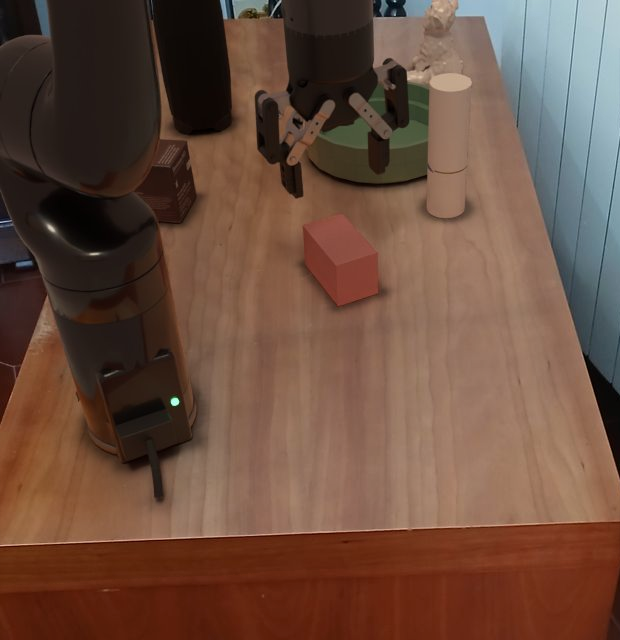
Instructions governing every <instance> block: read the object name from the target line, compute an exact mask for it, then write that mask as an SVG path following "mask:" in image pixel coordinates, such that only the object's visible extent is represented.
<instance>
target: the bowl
mask: <svg viewBox="0 0 620 640" xmlns="http://www.w3.org/2000/svg"><path fill="white" fill-rule="evenodd" d="M407 84H408V103H409V124H408V126H407V127H405V128H400V127H399V128H398V129H396V130H394V131H393V132H392V135H391V136H390V151H389V152H390V155H389V156H390V162H389V165H388V166H387V167H385V173H383V174H380V175H377V174H376V173H375V172H374V171H373V170H371V168H370V167H369V163H368V132H370V131H371V127H370V126H369V125H368V124H367V123H366V122H365V121H364V120H363V119H362V118H361V117H360V116H359V118H358V119H357V120H355V121H354V124H352V125H349V126H338V127H336V128H334V129H332V130H330V131H327V132H322V131H321V130H320V131H319V133H318V134H317V136H316V138H315V140H314V141H313V143H312V144H311V145H308V146H307V147H306V152H307V155H308V159H309V160H311V162H312V163H313V164H314V165H315V166H316V167H317V168H318V169H319V170H321V171H323V172H325V173H327V174H329V175H331V176H333V177H335V178H339V179H343V180H348V181H352V182H356V183H363V184H376V185H377V184H378V185H379V184H393V183H400V182H406V181H409V180H414V179H416V178H420V177H423V176H426V175H427V169H428V127H429V90H430V87H428V86H425V85H423V84H419V83H413V82H408V81H407ZM368 104H369V105H370V106H371V107H372V108H373V109H374V110H375V111H376V112H377V113H378V114H379V115H380V116H382V115H383V114H385V113H386V109H385V95H384V88H383V87H382V86H381V85H380V83H379V82H378V84H377V87H376V89H375V90H374V92H373V94H372V96H371V97H370V99H369V101H368ZM306 124H307V122H306V121H305V120H304V127H305V126H306Z"/></svg>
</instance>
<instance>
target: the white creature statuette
mask: <svg viewBox="0 0 620 640" xmlns="http://www.w3.org/2000/svg"><path fill="white" fill-rule="evenodd" d="M457 10H459V0H431V3H430V6H429V7H428V8H426V9H425V10H424V13H425V14H424V16H423V20H422V22H421V24H422V28H424V31H423V39H422V41H421V44H420V46H419V47H420V48H419V51H418V55H415V56H414V57H413V58H412V61H411V65H412V67H413V68H414V69H411V70H410V71H409V70H406V71H407V81H408V82H413V83H419V84H423V85H425V86H428V87H430V80H431V79H432V78H433V77H435V76H437V75H440V74H446V73H456V74H461V75H464V66H465V65H464V64H463V63H464V61H463V60H462V59H461V57H460V56H459V55H458V52H457V50H456V48H455V46H456V42H455V38H454V36H453V35H452V32H451V31H450V30H451V28H452V26H453V25H454V24H455V20H456V11H457Z"/></svg>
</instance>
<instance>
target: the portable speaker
mask: <svg viewBox="0 0 620 640" xmlns="http://www.w3.org/2000/svg"><path fill="white" fill-rule="evenodd" d="M151 11H152V26H153V29H154V30H153V31H154V34H155V40H156V41H155V42H156V48H157V54H158V58H159V63H160V70H161V75H162V81H163V85H164V89H165V94H166V95H165V96H166V99H167V103H168V108H169V111H170V115H171V116H172V120H173V125H174V128H175V129H176V130H177V131H178V132H179V133H182V134H185V135H190V134H191V133H192V131H193V130H204V129H213V130H214V131H215V132H223V131H225V130H226V129H227V128H228V127H230V126H231V124H232V121H233V115H232V109H233V100H232V78H231V66H230V58H229V51H228V50H229V49H228V43H227V36H226V35H227V34H226V28H225V21H224V14H223V13H224V12H223V7H222V2H221V0H151Z"/></svg>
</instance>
